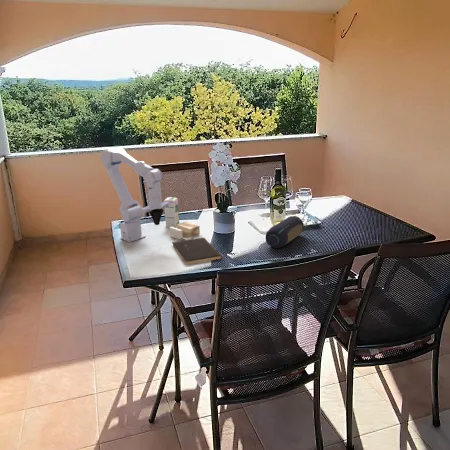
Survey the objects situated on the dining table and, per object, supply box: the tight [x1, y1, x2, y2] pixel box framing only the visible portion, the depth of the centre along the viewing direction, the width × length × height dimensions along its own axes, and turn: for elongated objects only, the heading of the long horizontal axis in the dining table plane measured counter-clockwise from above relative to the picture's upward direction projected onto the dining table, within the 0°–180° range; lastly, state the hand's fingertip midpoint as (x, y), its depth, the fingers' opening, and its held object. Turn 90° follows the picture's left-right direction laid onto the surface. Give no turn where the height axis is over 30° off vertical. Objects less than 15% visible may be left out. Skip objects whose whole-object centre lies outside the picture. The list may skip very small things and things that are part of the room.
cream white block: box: [168, 227, 186, 241], centre depth 207 cm, size 4×10×4 cm, turn 46°
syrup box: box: [163, 196, 180, 228], centre depth 223 cm, size 6×6×14 cm
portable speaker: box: [265, 215, 305, 249], centre depth 200 cm, size 25×10×10 cm, turn 145°
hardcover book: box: [171, 237, 223, 265], centre depth 191 cm, size 16×23×2 cm
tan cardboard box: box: [176, 221, 201, 241], centre depth 209 cm, size 16×12×4 cm
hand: (156, 224), depth 198 cm, fingers closed
